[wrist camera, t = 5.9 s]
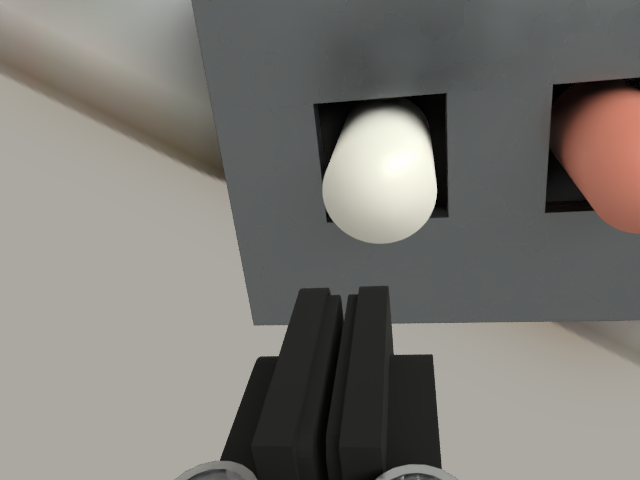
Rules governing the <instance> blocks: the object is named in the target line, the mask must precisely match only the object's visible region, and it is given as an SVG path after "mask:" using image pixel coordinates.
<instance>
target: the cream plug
mask: <svg viewBox="0 0 640 480" xmlns="http://www.w3.org/2000/svg"><path fill="white" fill-rule="evenodd" d="M322 193H323V200H324V204H325V207H326V210H327V212H328V214H329V216H330V217H331V219H332V220H333V222H334V223H335V224H336V225H337V226H338V227H339V228H340V229H341V230H342V231H344V232H345V233H346V234H348V235H349V236H351V237H353V238H355V239H358V240H360V241H364V242H368V243H375V244H385V243H392V242H397V241H400V240H403V239H405V238H407V237H409V236H411V235H412V234H414V233H415V232H417V231H418V230H419V229H420V228H421V227H422V226H423V225H424V224H425V223H426V222H427V220H428V219H429V217H430V215H431V213H432V211H433V209H434V206H435V203H436V198H437V184H436V176H435V167H434V159H433V150H432V142H431V134H430V128H429V124H428V121H427V119H426V117H425V115H424V114H423V112H422V111H421V110H420V108H419V107H418V106H417V105H415V104H414V103H413V102H411V101H410V100H408V99H406V98H403V97H391V98H379V99H367V100H364V101H362V102H361V103H359V104H358V105H357V106H356V107H355V108H354V109H353V110H352V111H351V112H350V114H349V115H348V117H347V119H346V121H345V123H344V126H343V129H342V131H341V134H340V136H339V139H338V142H337V144H336V147H335V149H334V152H333V155H332V157H331V160H330V162H329V165H328V168H327V170H326V173H325V175H324V180H323V187H322Z"/></svg>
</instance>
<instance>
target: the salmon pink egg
mask: <svg viewBox="0 0 640 480" xmlns="http://www.w3.org/2000/svg"><path fill="white" fill-rule="evenodd" d="M549 147H550V149H551V151H552V152H553V154H554V155H555V157H556V158H557V159H558V161H559V162H560V163H561V165H562V166H563V168H564V169H565V170H566V172H567V173H568V174H569V176H570V177H571V179H572V180H573V181H574V183H575V184H576V185H577V187H578V188H579V190H580V191H581V192H582V194H583V195H584V196H585V198H586V199H587V201H588V202H589V203H590V205H591V206H592V207H593V209H594V210H595V212H596V213H597V214H598V215H599V217H600V218H601V219H602V220H603V221H605V222H606V223H607V224H609V225H610V226H612V227H614V228H616V229H619V230H621V231H625V232H629V233H635V234H640V90H639V89H638V88H636V87H634V86H632V85H631V84H629V83H627V82H626V81H623V80H621V79H613V80H601V81H588V82H578V83H576V84H575V85H573V86H571V87H570V88H568V89H567V90H566V91H565V92H564V93H562V94H561V95H560V97H559V98H558V99H557V100H556V101H555V103H554V104H553V106H552V108H551V122H550V138H549Z"/></svg>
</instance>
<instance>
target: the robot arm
mask: <svg viewBox="0 0 640 480" xmlns="http://www.w3.org/2000/svg"><path fill="white" fill-rule="evenodd" d="M175 480H458V479H457V478H456V477H454V476H453V475H451V474H449V473H447V472H446V471H444V470H442V468H441V454H440V442H439V429H438V417H437V405H436V391H435V378H434V366H433V355H432V354H431V355H394V353H393V339H392V325H391V310H390V296H389V287H388V286H360V287H359V292H358V294H349V295H348V299H347V306H346V312H345V318H343V309H342V300H341V296H340V295H331V292H330V289H329V288H301V289H300V290H299V292H298V296H297V299H296V302H295V305H294V309H293V312H292V315H291V318H290V322H289V325H288V328H287V332H286V335H285V338H284V341H283V344H282V348H281V351H280V354H279V356H277V357H276V356H273V357H272V356H271V357H259V358H258V359H257V361H256V363H255V365H254V368H253V371H252V373H251V376H250V379H249V381H248V384H247V387H246V390H245V392H244V395H243V398H242V401H241V404H240V407H239V409H238V412H237V415H236V418H235V420H234V423H233V426H232V428H231V431H230V434H229V437H228V439H227V442H226V445H225V448H224V450H223V453H222V456H221V459H220V461H213V462H208V463H204V464H200V465H198V466H196V467H194V468H192V469H189V470H187V471H186V472H184V473H183V474H181V475H180V476H179V477H178V478H176V479H175Z"/></svg>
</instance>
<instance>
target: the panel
mask: <svg viewBox="0 0 640 480" xmlns="http://www.w3.org/2000/svg"><path fill="white" fill-rule="evenodd" d="M191 1H192V6H193V11H194V17H195V22H196V27H197V32H198V37H199V43H200V48H201V53H202V58H203V63H204V69H205V74H206V79H207V84H208V89H209V95H210V100H211V105H212V110H213V115H214V121H215V126H216V131H217V136H218V141H219V147H220V152H221V157H222V162H223V167H224V172H225V178H226V183H227V188H228V193H229V198H230V203H231V209H232V214H233V219H234V224H235V229H236V235H237V240H238V245H239V250H240V255H241V260H242V266H243V271H244V276H245V282H246V287H247V292H248V297H249V302H250V308H251V313H252V318H253V323H254V325H289V322H290V318H291V315H292V312H293V309H294V305H295V302H296V299H297V296H298V292H299V290H300V289H301V288H329V289H330V292H331V295H340V296H341V300H342V309H343V318H345V312H346V306H347V299H348V295H349V294H358V292H359V287H360V286H388V287H389V296H390V310H391V324H392V323H460V322H461V323H467V322H541V321H542V322H544V321H620V320H640V234H635V233H629V232H625V231H621V230H619V229H616V228H614V227H612V226H610V225H609V224H607V223H606V222H605V221H603V220H602V219H601V218H600V217H599V215H598V214H597V213H596V212H595V210H594V209H593V207H592V206H591V205H590V203H589V202H588V201H587V200H583V201H561V202H545V201H546V185H547V170H548V154H549V138H550V122H551V107H552V91H553V84H564V83H576V82H588V81H601V80H613V79H625V78H638V77H640V0H191ZM441 93H445V111H446V172H447V207H435V208H434V209H433V211H432V213H431V215H430V217H429V219H428V220H427V222H426V223H425V224H424V225H423V226H422V227H421V228H420V229H419V230H418V231H417V232H415V233H414V234H412V235H411V236H409V237H407V238H405V239H403V240H400V241H397V242H392V243H385V244H375V243H368V242H364V241H360V240H358V239H355V238H353V237H351V236H349V235H348V234H346V233H345V232H344V231H342V230H341V229H340V228H339V227H338V226H337V225H336V224H335V223H334V222H333V220H332V219H331V217H330V216H329V214H328V212H327V210H326V207H325V204H324V200H323V193H322V187H323V180H324V175H325V164H324V155H323V146H322V137H321V128H320V119H319V110H318V103H330V102H342V101H354V100H367V99H379V98H391V97H404V96H416V95H428V94H441Z"/></svg>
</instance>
